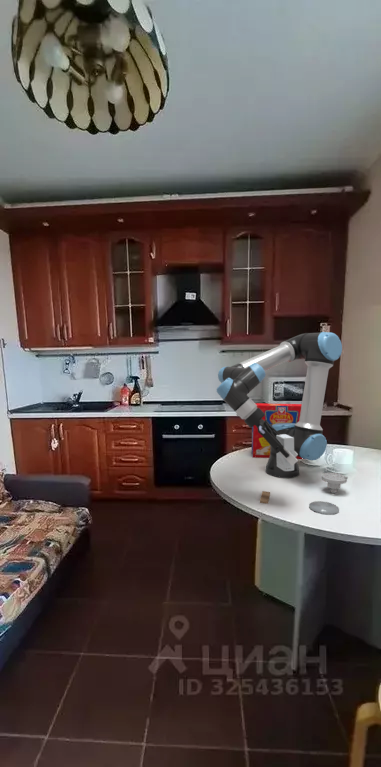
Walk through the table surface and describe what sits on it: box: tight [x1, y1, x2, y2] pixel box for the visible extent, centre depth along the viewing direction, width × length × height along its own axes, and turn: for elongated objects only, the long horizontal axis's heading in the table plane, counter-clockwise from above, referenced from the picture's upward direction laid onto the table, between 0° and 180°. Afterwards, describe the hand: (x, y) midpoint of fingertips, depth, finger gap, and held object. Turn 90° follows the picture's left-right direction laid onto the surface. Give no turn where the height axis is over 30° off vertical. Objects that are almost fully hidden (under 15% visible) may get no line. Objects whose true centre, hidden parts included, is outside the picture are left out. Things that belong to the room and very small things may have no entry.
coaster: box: [308, 500, 340, 516], centre depth 132 cm, size 10×10×1 cm
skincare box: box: [276, 434, 294, 471], centre depth 134 cm, size 6×4×12 cm
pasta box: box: [251, 402, 303, 460], centre depth 196 cm, size 28×8×28 cm, turn 85°
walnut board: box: [259, 490, 271, 505], centre depth 140 cm, size 10×3×1 cm, turn 164°
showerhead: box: [321, 472, 349, 494], centre depth 147 cm, size 9×7×10 cm
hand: (295, 459), depth 133 cm, fingers closed on skincare box, 7 cm apart
